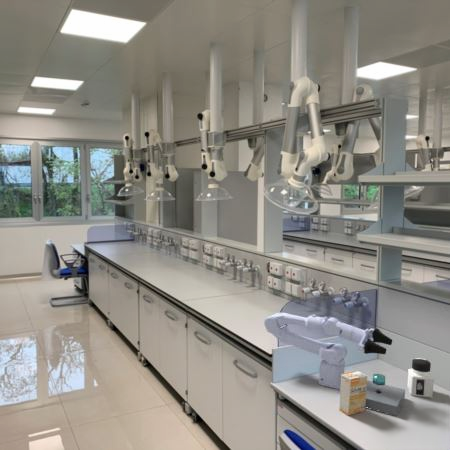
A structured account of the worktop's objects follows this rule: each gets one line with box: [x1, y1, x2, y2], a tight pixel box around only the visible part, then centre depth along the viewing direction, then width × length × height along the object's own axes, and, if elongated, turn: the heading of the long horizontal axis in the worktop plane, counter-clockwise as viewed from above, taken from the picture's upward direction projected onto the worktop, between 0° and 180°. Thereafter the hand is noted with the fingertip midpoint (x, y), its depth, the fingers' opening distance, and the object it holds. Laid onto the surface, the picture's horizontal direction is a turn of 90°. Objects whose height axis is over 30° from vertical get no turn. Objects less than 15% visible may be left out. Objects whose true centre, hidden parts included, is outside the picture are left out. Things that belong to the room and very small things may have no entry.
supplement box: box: [339, 370, 368, 416], centre depth 155 cm, size 8×5×13 cm, turn 118°
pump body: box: [365, 380, 406, 417], centre depth 164 cm, size 16×16×4 cm
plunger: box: [372, 373, 387, 394], centre depth 163 cm, size 4×4×6 cm
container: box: [406, 357, 435, 399], centre depth 171 cm, size 8×8×13 cm
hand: (388, 347), depth 165 cm, fingers open, 7 cm apart
